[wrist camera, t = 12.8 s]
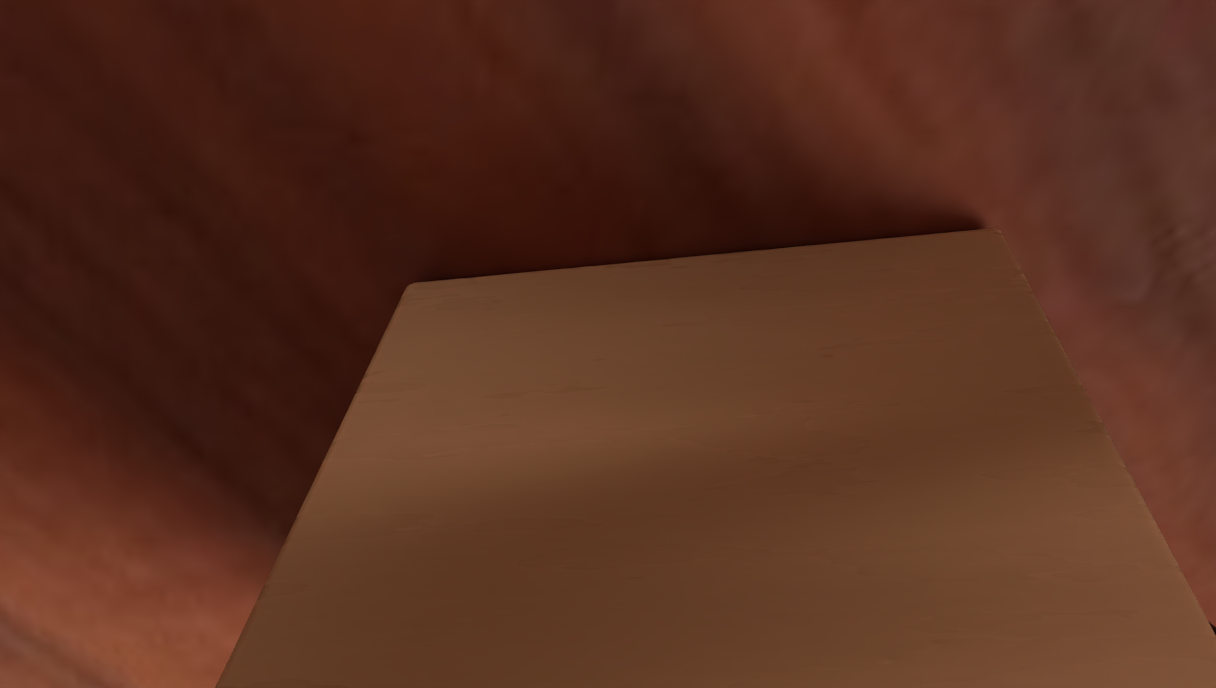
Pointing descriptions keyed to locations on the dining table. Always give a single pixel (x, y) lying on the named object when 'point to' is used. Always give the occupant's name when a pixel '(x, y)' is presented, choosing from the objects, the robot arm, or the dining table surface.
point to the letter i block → (727, 490)
